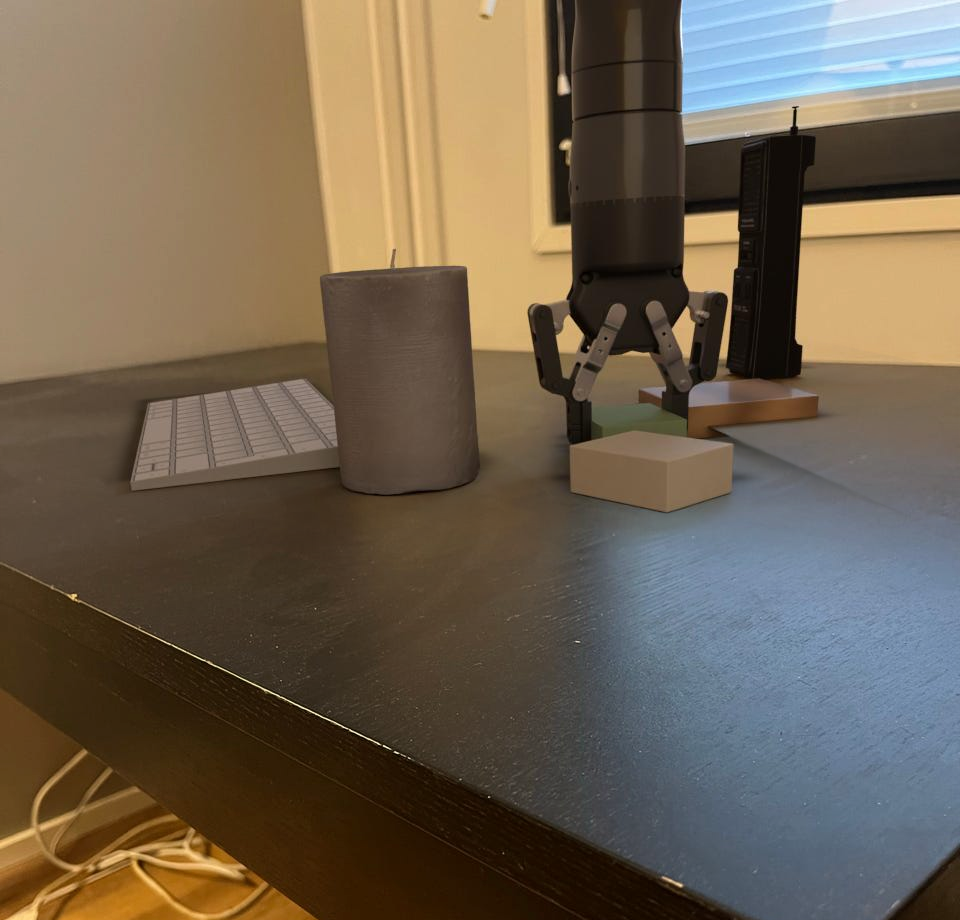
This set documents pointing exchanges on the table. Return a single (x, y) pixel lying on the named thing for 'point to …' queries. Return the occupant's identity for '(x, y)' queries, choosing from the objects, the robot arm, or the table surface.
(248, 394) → the computer keyboard
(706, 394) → the brown l-shaped block
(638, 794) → the table surface
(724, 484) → the beige block
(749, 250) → the portable radio
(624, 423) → the green pad
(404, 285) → the pillar candle
